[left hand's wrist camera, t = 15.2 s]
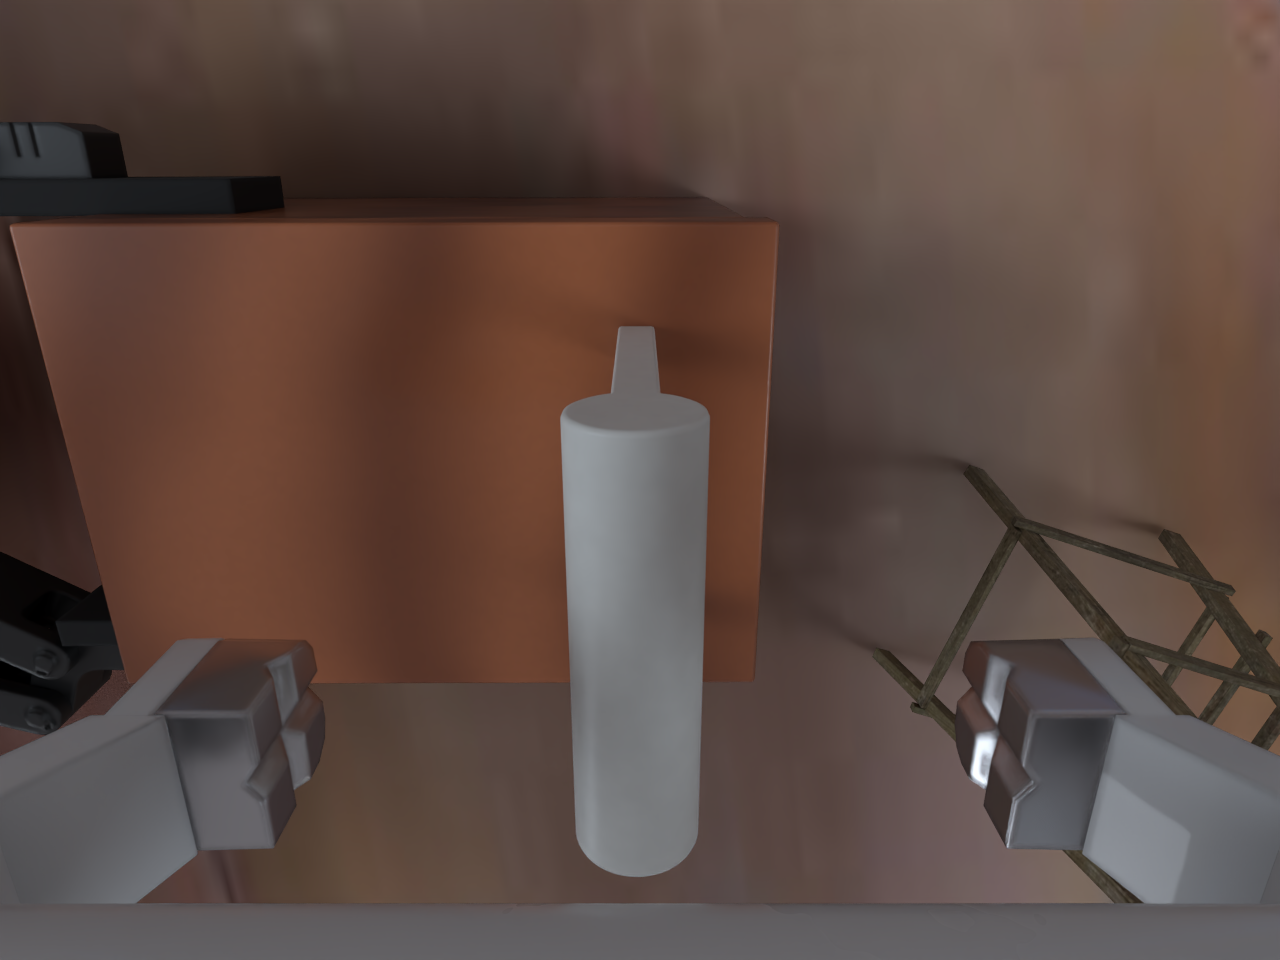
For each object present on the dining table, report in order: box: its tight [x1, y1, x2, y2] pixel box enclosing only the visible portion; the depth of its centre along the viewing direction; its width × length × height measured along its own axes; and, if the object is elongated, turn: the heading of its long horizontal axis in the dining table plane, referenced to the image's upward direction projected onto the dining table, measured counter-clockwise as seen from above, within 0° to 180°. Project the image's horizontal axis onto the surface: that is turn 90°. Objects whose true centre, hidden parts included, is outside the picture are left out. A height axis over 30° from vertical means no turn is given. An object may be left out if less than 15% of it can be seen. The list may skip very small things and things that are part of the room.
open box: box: [59, 197, 744, 219], centre depth 23 cm, size 14×10×10 cm
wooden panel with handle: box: [10, 217, 780, 877], centre depth 15 cm, size 14×10×9 cm
